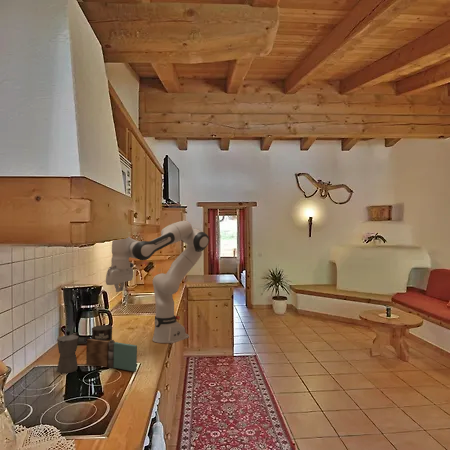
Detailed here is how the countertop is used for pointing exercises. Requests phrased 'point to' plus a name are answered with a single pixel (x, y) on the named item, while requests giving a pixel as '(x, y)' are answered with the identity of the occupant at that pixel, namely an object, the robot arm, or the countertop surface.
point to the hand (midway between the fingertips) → (119, 291)
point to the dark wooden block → (99, 352)
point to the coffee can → (102, 332)
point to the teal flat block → (124, 356)
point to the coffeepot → (67, 353)
